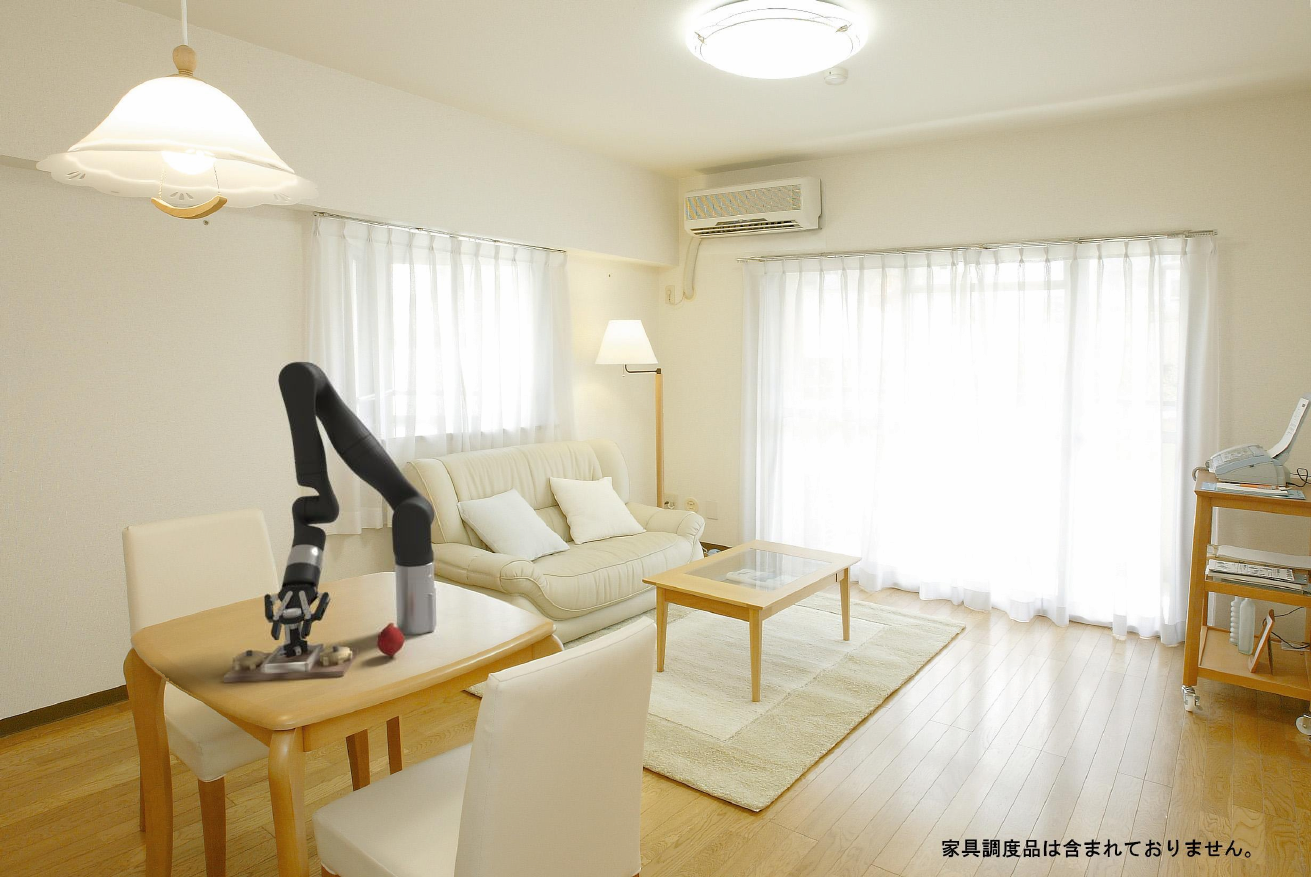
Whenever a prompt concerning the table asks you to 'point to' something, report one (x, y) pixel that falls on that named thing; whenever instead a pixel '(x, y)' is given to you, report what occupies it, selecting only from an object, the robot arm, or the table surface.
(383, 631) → the onion
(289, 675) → the gear board
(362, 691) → the table surface
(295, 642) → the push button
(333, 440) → the robot arm
